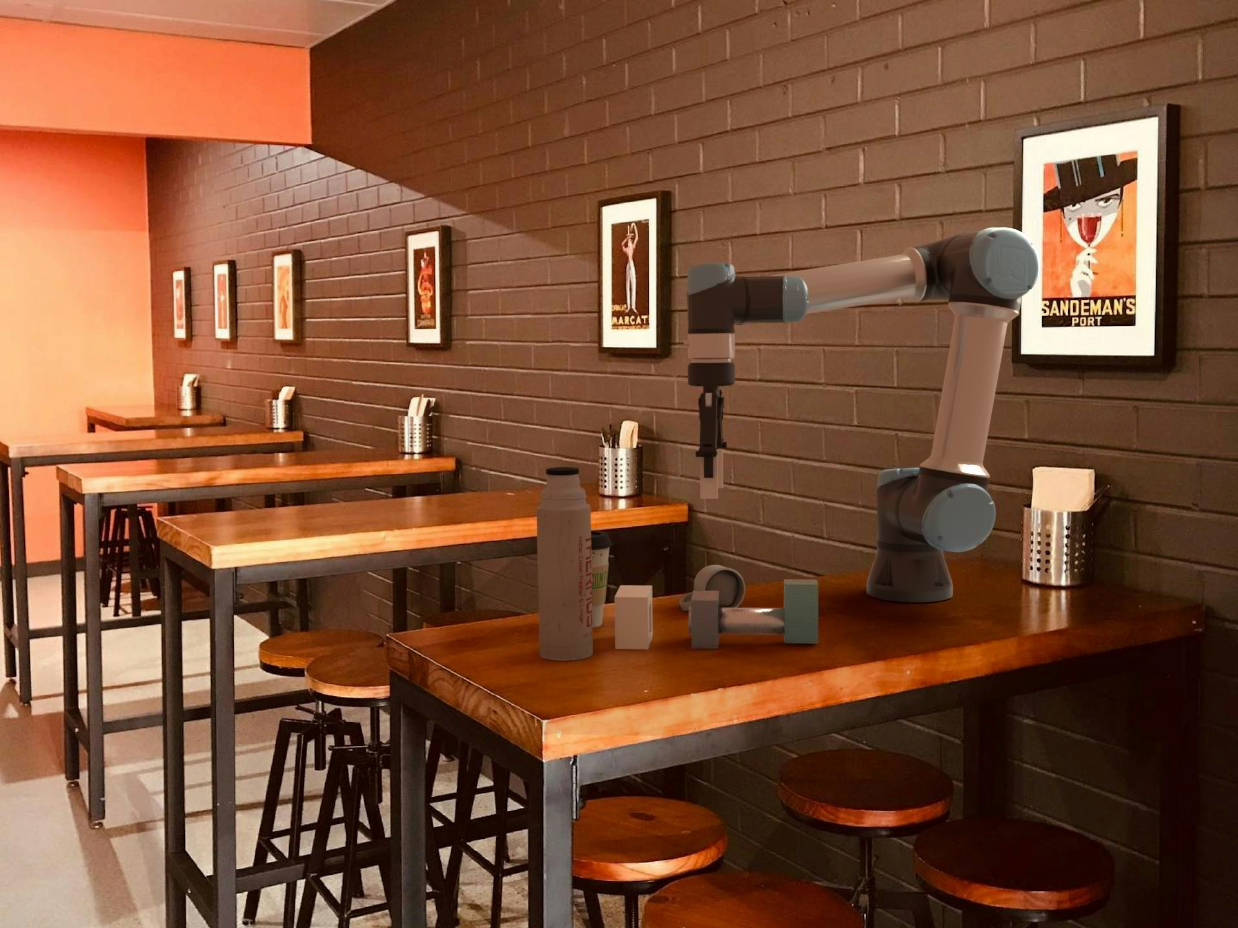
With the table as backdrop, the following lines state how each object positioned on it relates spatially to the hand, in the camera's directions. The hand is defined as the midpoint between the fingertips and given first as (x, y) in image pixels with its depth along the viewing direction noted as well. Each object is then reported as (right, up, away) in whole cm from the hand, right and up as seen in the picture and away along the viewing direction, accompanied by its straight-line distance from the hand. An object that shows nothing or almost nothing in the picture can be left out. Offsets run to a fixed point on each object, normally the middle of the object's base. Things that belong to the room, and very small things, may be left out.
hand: (712, 493), depth 205 cm
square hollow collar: (-2, -23, -10) cm, 25 cm away
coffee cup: (-21, -22, +4) cm, 31 cm away
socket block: (-13, -23, -9) cm, 27 cm away
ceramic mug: (+1, -21, +15) cm, 26 cm away
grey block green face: (+6, -22, -10) cm, 25 cm away
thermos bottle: (-23, -24, -15) cm, 37 cm away
